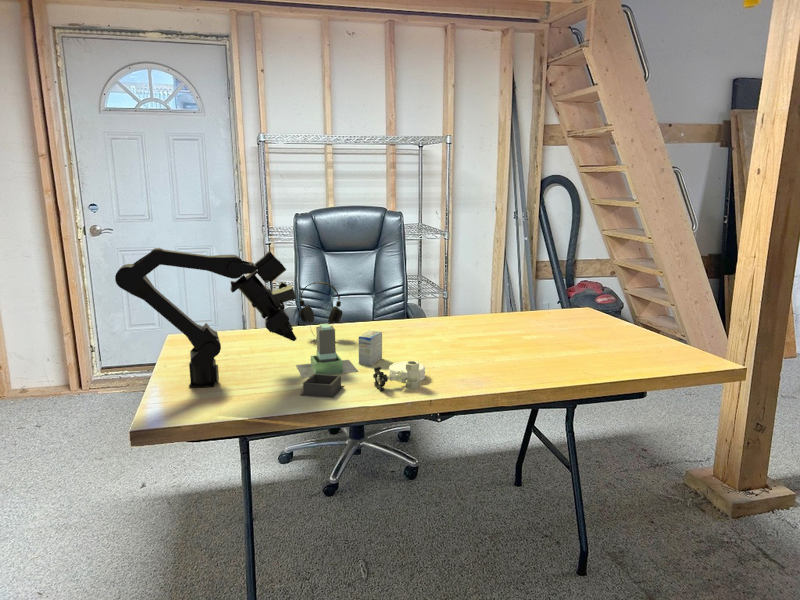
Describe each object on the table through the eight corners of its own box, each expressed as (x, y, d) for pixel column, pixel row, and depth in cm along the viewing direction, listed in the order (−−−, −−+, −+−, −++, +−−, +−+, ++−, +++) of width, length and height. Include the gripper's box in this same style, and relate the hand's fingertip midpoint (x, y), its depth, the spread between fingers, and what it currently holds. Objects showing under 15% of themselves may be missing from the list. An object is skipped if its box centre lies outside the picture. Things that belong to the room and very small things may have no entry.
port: (302, 380, 155) (301, 367, 154) (295, 367, 166) (295, 355, 165) (358, 373, 160) (358, 361, 159) (348, 361, 171) (348, 350, 170)
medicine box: (369, 357, 175) (369, 330, 174) (382, 358, 174) (382, 331, 172) (358, 364, 168) (357, 336, 167) (372, 366, 167) (371, 337, 165)
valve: (414, 381, 154) (373, 387, 149) (414, 358, 152) (372, 363, 148) (424, 389, 148) (381, 395, 143) (424, 365, 146) (381, 370, 142)
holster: (299, 397, 142) (299, 384, 141) (312, 385, 150) (312, 372, 150) (333, 400, 140) (333, 386, 139) (344, 387, 148) (344, 374, 148)
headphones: (293, 343, 190) (290, 285, 186) (303, 335, 201) (301, 280, 197) (336, 345, 188) (334, 286, 184) (344, 336, 199) (343, 281, 195)
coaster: (432, 378, 156) (432, 366, 156) (406, 387, 150) (406, 374, 149) (407, 370, 164) (407, 358, 163) (381, 378, 157) (381, 366, 156)
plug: (320, 371, 160) (318, 328, 157) (316, 366, 164) (315, 324, 162) (336, 369, 161) (335, 326, 159) (333, 365, 166) (332, 323, 163)
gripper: (284, 282, 145) (321, 326, 151) (277, 268, 162) (311, 308, 168) (249, 309, 144) (288, 352, 150) (247, 292, 161) (281, 332, 167)
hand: (293, 335), depth 159 cm, fingers open, 9 cm apart
